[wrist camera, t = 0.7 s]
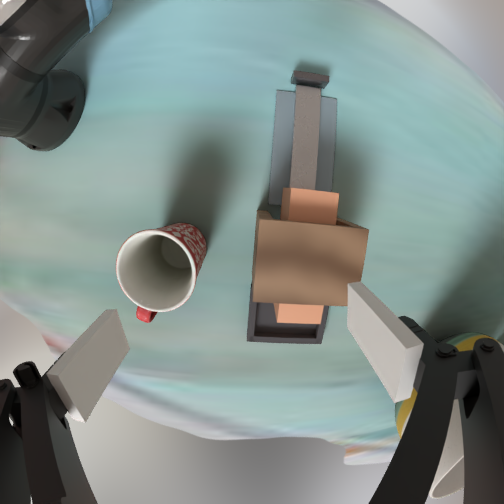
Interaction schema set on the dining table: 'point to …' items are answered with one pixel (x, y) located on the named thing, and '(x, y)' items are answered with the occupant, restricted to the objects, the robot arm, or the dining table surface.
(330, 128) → the pad
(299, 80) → the track
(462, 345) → the planter
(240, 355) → the dining table surface
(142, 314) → the mug
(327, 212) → the block
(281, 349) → the dining table surface
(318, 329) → the dark grey tray
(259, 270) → the open box
